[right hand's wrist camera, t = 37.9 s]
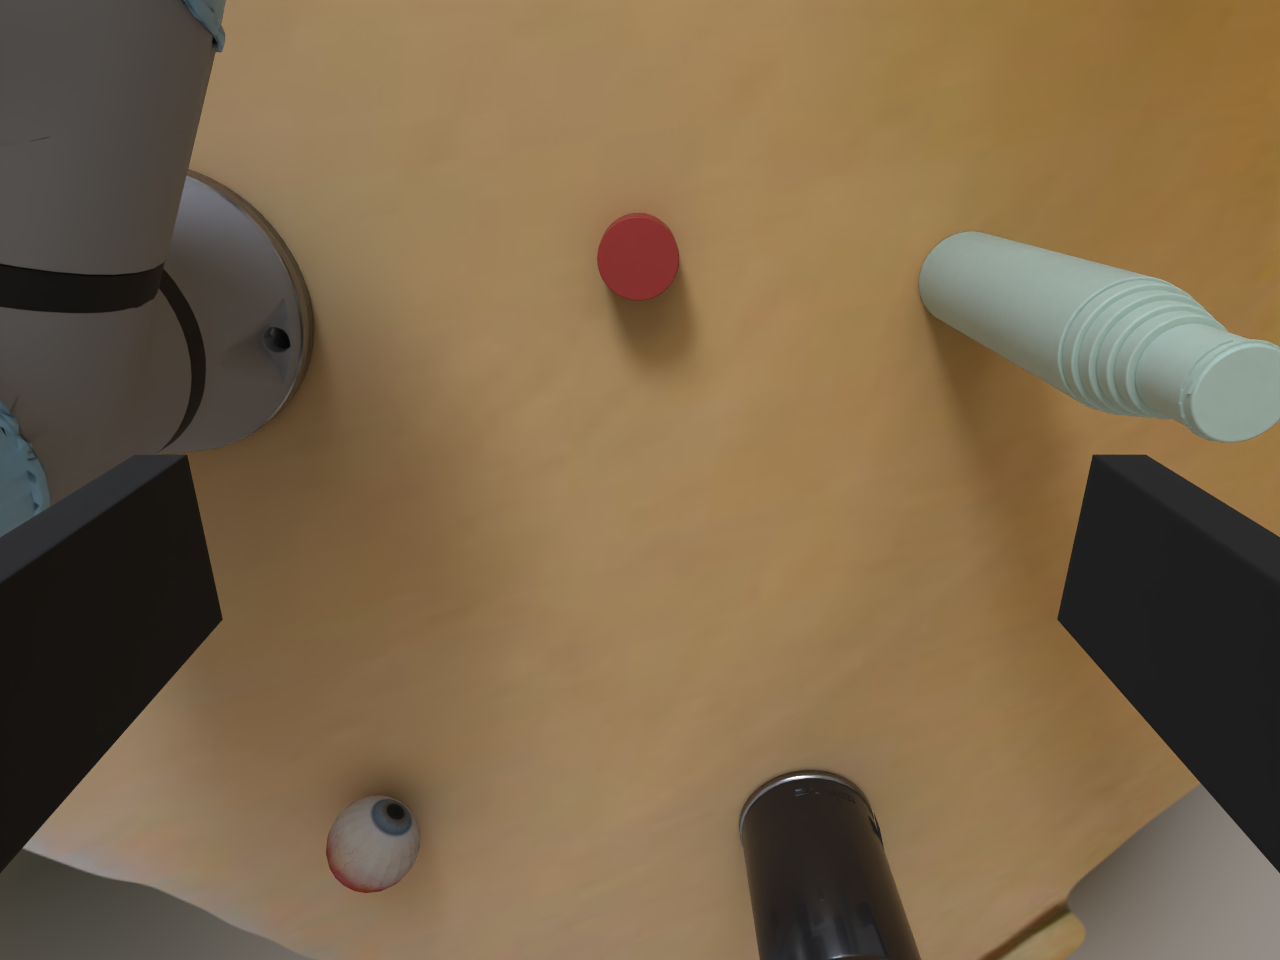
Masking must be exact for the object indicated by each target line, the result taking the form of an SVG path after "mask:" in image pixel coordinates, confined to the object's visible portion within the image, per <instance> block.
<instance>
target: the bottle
mask: <svg viewBox="0 0 1280 960" xmlns="http://www.w3.org/2000/svg"><path fill="white" fill-rule="evenodd" d="M919 292H920V296H921V299H922V302H923V304H924V306H925V307H926V308H927V310H928V311H929V312H930V313H931V314H932V315H933V316H935V317H936V318H938V319H939V320H941V321H943V322H944V323H946V324H948V325H949V326H951V327H953V328H955V329H956V330H958V331H960V332H961V333H963V334H965V335H966V336H968V337H970V338H972V339H973V340H975V341H977V342H978V343H980V344H982V345H983V346H985V347H987V348H989V349H990V350H992V351H994V352H995V353H997V354H999V355H1000V356H1002V357H1004V358H1005V359H1007V360H1009V361H1011V362H1012V363H1014V364H1016V365H1017V366H1019V367H1021V368H1022V369H1024V370H1026V371H1028V372H1029V373H1031V374H1033V375H1034V376H1036V377H1038V378H1039V379H1041V380H1043V381H1045V382H1046V383H1048V384H1050V385H1051V386H1053V387H1055V388H1056V389H1058V390H1060V391H1062V392H1063V393H1065V394H1067V395H1068V396H1070V397H1072V398H1073V399H1075V400H1077V401H1079V402H1080V403H1082V404H1084V405H1086V406H1088V407H1090V408H1093V409H1097V410H1101V411H1104V412H1106V413H1110V414H1115V415H1127V416H1142V417H1154V418H1159V419H1174V420H1176V421H1177V422H1179V423H1181V424H1183V425H1185V426H1187V427H1188V428H1189V429H1190V430H1191V431H1192V432H1193V433H1194V434H1196V435H1198V436H1200V437H1202V438H1205V439H1207V440H1210V441H1218V442H1240V441H1245V440H1248V439H1251V438H1254V437H1256V436H1258V435H1260V434H1262V433H1264V432H1265V431H1267V430H1268V429H1270V428H1271V427H1272V426H1273V425H1275V424H1276V423H1277V422H1278V421H1279V420H1280V347H1279V346H1277V345H1275V344H1272V343H1270V342H1268V341H1263V340H1256V339H1252V340H1250V339H1247V338H1244V337H1241V336H1238V335H1235V334H1232V333H1229V332H1228V331H1227V330H1226V328H1225V327H1224V326H1223V325H1222V324H1220V323H1219V322H1218V321H1216V320H1215V319H1214V317H1213V316H1212V315H1210V314H1209V313H1208V312H1207V311H1206V310H1205V309H1204V307H1203V306H1201V305H1200V304H1199V303H1198V302H1196V301H1195V300H1194V298H1193V297H1191V296H1190V295H1189V294H1188V293H1187V292H1185V291H1183V290H1181V289H1180V288H1177V287H1176V286H1174V285H1172V284H1171V283H1169V282H1167V281H1164V280H1161V279H1158V278H1154V277H1150V276H1146V275H1143V274H1139V273H1135V272H1131V271H1127V270H1123V269H1120V268H1116V267H1112V266H1108V265H1104V264H1100V263H1097V262H1093V261H1089V260H1085V259H1081V258H1077V257H1074V256H1070V255H1066V254H1062V253H1058V252H1055V251H1051V250H1047V249H1043V248H1039V247H1035V246H1032V245H1028V244H1024V243H1020V242H1016V241H1012V240H1009V239H1005V238H1001V237H997V236H993V235H989V234H986V233H981V232H975V231H967V232H961V233H957V234H954V235H952V236H950V237H948V238H946V239H944V240H943V241H941V242H940V243H939V244H938V245H937V246H936V247H935V248H934V249H933V250H932V251H931V252H930V253H929V255H928V256H927V258H926V260H925V261H924V264H923V266H922V269H921V272H920V277H919Z"/></svg>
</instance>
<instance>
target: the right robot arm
mask: <svg viewBox="0 0 1280 960" xmlns="http://www.w3.org/2000/svg"><path fill="white" fill-rule="evenodd" d="M225 1H226V0H0V873H1V872H2V870H3V869H4V868H5V867H6V866H7V865H8V864H9V862H10V861H11V860H12V859H13V858H14V857H15V856H16V854H17V853H18V852H19V851H20V850H21V849H22V848H23V847H24V845H25V844H26V843H27V842H28V841H29V840H30V839H31V837H32V836H33V835H34V834H35V833H36V832H37V831H38V829H39V828H40V827H41V826H42V825H43V824H44V823H45V821H46V820H47V819H48V818H49V817H50V816H51V815H52V813H53V812H54V811H55V810H56V809H57V808H58V807H59V805H60V804H61V803H62V802H63V801H64V800H65V799H66V797H67V796H68V795H69V794H70V793H71V792H72V791H73V790H74V788H75V787H76V786H77V785H78V784H79V783H80V782H81V780H82V779H83V778H84V777H85V776H86V775H87V774H88V772H89V771H90V770H91V769H92V768H93V767H94V766H95V764H96V763H97V762H98V761H99V760H100V759H101V758H102V756H103V755H104V754H105V753H106V752H107V751H108V750H109V748H110V747H111V746H112V745H113V744H114V743H115V742H116V740H117V739H118V738H119V737H120V736H121V735H122V734H123V732H124V731H125V730H126V729H127V728H128V727H129V726H130V724H131V723H132V722H133V721H134V720H135V719H136V718H137V717H138V715H139V714H140V713H141V712H142V711H143V710H144V709H145V707H146V706H147V705H148V704H149V703H150V702H151V701H152V699H153V698H154V697H155V696H156V695H157V694H158V693H159V691H160V690H161V689H162V688H163V687H164V686H165V685H166V683H167V682H168V681H169V680H170V679H171V678H172V677H173V675H174V674H175V673H176V672H177V671H178V670H179V669H180V667H181V666H182V665H183V664H184V663H185V662H186V661H187V659H188V658H189V657H190V656H191V655H192V654H193V653H194V651H195V650H196V649H197V648H198V647H199V646H200V645H201V643H202V642H203V641H204V640H205V639H206V638H207V637H208V636H209V634H210V633H211V632H212V631H213V630H214V629H215V628H216V626H217V625H218V624H219V623H220V622H221V621H222V620H223V619H222V614H221V610H220V605H219V600H218V596H217V591H216V586H215V582H214V577H213V572H212V568H211V563H210V559H209V554H208V549H207V545H206V540H205V535H204V531H203V526H202V521H201V517H200V512H199V508H198V503H197V498H196V494H195V489H194V484H193V480H192V475H191V470H190V466H189V461H188V457H187V455H160V454H173V453H185V452H197V451H204V450H209V449H214V448H218V447H222V446H226V445H229V444H231V443H234V442H236V441H239V440H241V439H243V438H245V437H247V436H248V435H250V434H252V433H253V432H255V431H256V430H258V429H259V428H261V427H262V426H263V425H265V424H266V423H267V422H269V421H270V420H271V419H273V418H274V417H275V416H276V415H277V414H278V413H279V412H281V411H282V410H283V408H284V407H285V406H286V405H287V404H288V403H289V402H290V400H291V399H292V398H293V396H294V395H295V393H296V392H297V390H298V388H299V386H300V385H301V383H302V381H303V378H304V376H305V374H306V371H307V368H308V364H309V361H310V357H311V351H312V345H313V317H312V309H311V303H310V299H309V295H308V291H307V288H306V285H305V282H304V279H303V276H302V274H301V272H300V269H299V267H298V265H297V263H296V261H295V259H294V257H293V255H292V253H291V252H290V250H289V248H288V247H287V245H286V244H285V242H284V241H283V239H282V238H281V237H280V235H279V234H278V233H277V231H276V230H275V229H274V228H273V226H272V225H271V224H270V223H269V222H268V221H267V220H266V219H265V218H264V217H263V215H262V214H261V213H259V212H258V211H257V210H256V209H255V208H254V207H253V206H252V205H251V204H250V203H248V202H247V201H246V200H244V199H243V198H242V197H241V196H239V195H238V194H237V193H235V192H233V191H232V190H230V189H229V188H227V187H226V186H224V185H222V184H220V183H219V182H217V181H215V180H213V179H211V178H209V177H207V176H204V175H202V174H200V173H197V172H194V171H191V170H188V167H189V163H190V159H191V154H192V150H193V146H194V142H195V137H196V133H197V129H198V124H199V120H200V116H201V112H202V107H203V103H204V99H205V95H206V90H207V86H208V82H209V78H210V73H211V69H212V65H213V61H214V56H215V52H222V50H223V47H224V43H225V33H224V30H223V27H222V25H221V23H222V17H223V12H224V7H225ZM1057 620H1058V621H1059V622H1060V623H1061V624H1062V625H1063V626H1064V628H1065V629H1066V630H1067V631H1068V632H1069V633H1070V634H1071V636H1072V637H1073V638H1074V639H1075V640H1076V641H1077V642H1078V643H1079V645H1080V646H1081V647H1082V648H1083V649H1084V650H1085V651H1086V653H1087V654H1088V655H1089V656H1090V657H1091V658H1092V659H1093V661H1094V662H1095V663H1096V664H1097V665H1098V666H1099V667H1100V669H1101V670H1102V671H1103V672H1104V673H1105V674H1106V675H1107V677H1108V678H1109V679H1110V680H1111V681H1112V682H1113V683H1114V685H1115V686H1116V687H1117V688H1118V689H1119V690H1120V691H1121V693H1122V694H1123V695H1124V696H1125V697H1126V698H1127V699H1128V701H1129V702H1130V703H1131V704H1132V705H1133V706H1134V707H1135V709H1136V710H1137V711H1138V712H1139V713H1140V714H1141V715H1142V717H1143V718H1144V719H1145V720H1146V721H1147V722H1148V723H1149V724H1150V726H1151V727H1152V728H1153V729H1154V730H1155V731H1156V732H1157V734H1158V735H1159V736H1160V737H1161V738H1162V739H1163V740H1164V742H1165V743H1166V744H1167V745H1168V746H1169V747H1170V748H1171V750H1172V751H1173V752H1174V753H1175V754H1176V755H1177V756H1178V758H1179V759H1180V760H1181V761H1182V762H1183V763H1184V764H1185V766H1186V767H1187V768H1188V769H1189V770H1190V771H1191V772H1192V774H1193V775H1194V776H1195V777H1196V778H1197V779H1198V780H1199V782H1200V783H1201V784H1202V785H1203V786H1204V787H1205V788H1206V789H1207V791H1208V792H1209V793H1210V794H1211V795H1212V796H1213V797H1214V799H1215V800H1216V801H1217V802H1218V803H1219V804H1220V805H1221V807H1222V808H1223V809H1224V810H1225V811H1226V812H1227V813H1228V815H1229V816H1230V817H1231V818H1232V819H1233V820H1234V821H1235V823H1236V824H1237V825H1238V826H1239V827H1240V828H1241V829H1242V831H1243V832H1244V833H1245V834H1246V835H1247V836H1248V837H1249V838H1250V840H1251V841H1252V842H1253V843H1254V844H1255V845H1256V846H1257V848H1258V849H1259V850H1260V851H1261V852H1262V853H1263V855H1264V856H1265V857H1266V858H1267V859H1268V860H1269V861H1270V863H1271V864H1272V865H1273V866H1274V867H1275V868H1276V869H1277V870H1278V872H1279V873H1280V537H1278V536H1277V535H1275V534H1274V533H1272V532H1270V531H1269V530H1267V529H1265V528H1264V527H1262V526H1261V525H1259V524H1257V523H1256V522H1254V521H1252V520H1251V519H1249V518H1248V517H1246V516H1244V515H1243V514H1241V513H1239V512H1238V511H1236V510H1235V509H1233V508H1231V507H1230V506H1228V505H1226V504H1225V503H1223V502H1222V501H1220V500H1218V499H1217V498H1215V497H1213V496H1212V495H1210V494H1209V493H1207V492H1205V491H1204V490H1202V489H1200V488H1199V487H1197V486H1196V485H1194V484H1192V483H1191V482H1189V481H1187V480H1186V479H1184V478H1183V477H1181V476H1179V475H1178V474H1176V473H1175V472H1173V471H1171V470H1170V469H1168V468H1166V467H1165V466H1163V465H1162V464H1160V463H1158V462H1157V461H1155V460H1153V459H1152V458H1150V457H1149V456H1147V455H1093V457H1092V461H1091V466H1090V470H1089V475H1088V480H1087V484H1086V489H1085V494H1084V498H1083V503H1082V508H1081V512H1080V517H1079V521H1078V526H1077V531H1076V535H1075V540H1074V545H1073V549H1072V554H1071V559H1070V563H1069V568H1068V572H1067V577H1066V582H1065V586H1064V591H1063V596H1062V600H1061V605H1060V610H1059V614H1058V619H1057Z"/></svg>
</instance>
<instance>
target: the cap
mask: <svg viewBox="0 0 1280 960" xmlns="http://www.w3.org/2000/svg"><path fill="white" fill-rule="evenodd" d="M597 259H598V268H599V271H600V274H601V277H602V279H603V280H604V282H605V284H606V285H607V286H608V287H609V288H610V289H611V290H612V291H613V292H614V293H616V294H617V295H619V296H621V297H623V298H626V299H630V300H647V299H650V298H653V297H655V296H658V295H659V294H661V293H662V292H663V291H665V290H666V289H667V288H668V287H669V286H670V284H671V283H672V281H673V279H674V278H675V275H676V273H677V270H678V265H679V253H678V248H677V244H676V242H675V239H674V237H673V234H672V233H671V231H670V229H669V228H668V227H667V226H666V225H665V224H664V223H663V222H662V221H661V220H659V219H658V218H656V217H654V216H651V215H648V214H644V213H633V214H628V215H625V216H623V217H621V218H619V219H617V220H616V221H615V222H613V223H612V224H611V225H610V226H609V227H608V229H607V230H606V232H605V234H604V236H603V238H602V240H601V243H600V246H599V250H598V257H597Z"/></svg>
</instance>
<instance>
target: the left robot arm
mask: <svg viewBox="0 0 1280 960" xmlns="http://www.w3.org/2000/svg"><path fill="white" fill-rule="evenodd" d="M874 816H875V814H874ZM875 821H876V826H877V829H876V826H875V823H874V817H873V813H872V810H871V807H870V804H869V802H868V800H867V798H866V796H865V795H864V793H863V792H862V791H861V790H860V789H859V788H858V787H857V786H856V785H855V784H854V783H852V782H851V781H849V780H848V779H846V778H844V777H842V776H839V775H837V774H834V773H830V772H825V771H818V770H803V771H795V772H791V773H787V774H783V775H781V776H778V777H776V778H774V779H772V780H770V781H768V782H766V783H765V784H763V785H762V786H760V787H759V788H758V789H757V790H756V791H755V792H754V793H753V794H752V795H751V796H750V797H749V799H748V800H747V801H746V803H745V805H744V807H743V809H742V812H741V815H740V820H739V830H740V837H741V842H742V845H743V848H744V855H745V862H746V868H747V877H748V883H749V890H750V897H751V903H752V910H753V917H754V923H755V930H756V937H757V944H758V950H759V957H760V960H921V957H920V954H919V952H918V949H917V946H916V943H915V940H914V937H913V934H912V931H911V928H910V925H909V922H908V919H907V917H906V914H905V911H904V908H903V905H902V902H901V899H900V896H899V893H898V890H897V887H896V884H895V882H894V879H893V876H892V873H891V870H890V867H889V864H888V861H887V858H886V855H885V852H884V847H883V842H882V838H881V833H880V828H879V825H878V822H877V820H876V817H875Z"/></svg>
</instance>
